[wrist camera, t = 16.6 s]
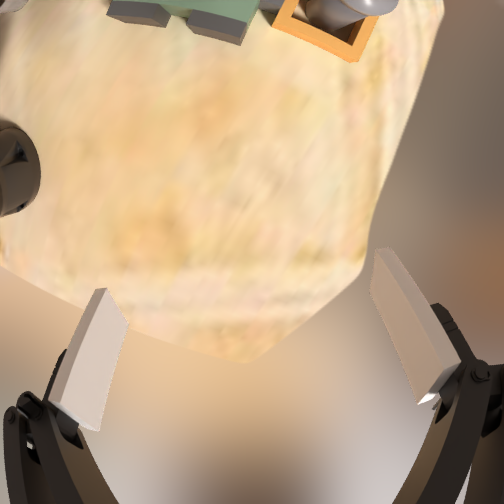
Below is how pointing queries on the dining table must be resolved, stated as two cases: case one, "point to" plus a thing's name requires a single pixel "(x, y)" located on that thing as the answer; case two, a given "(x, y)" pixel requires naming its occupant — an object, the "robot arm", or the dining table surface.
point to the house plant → (11, 5)
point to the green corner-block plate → (240, 21)
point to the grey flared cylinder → (345, 11)
